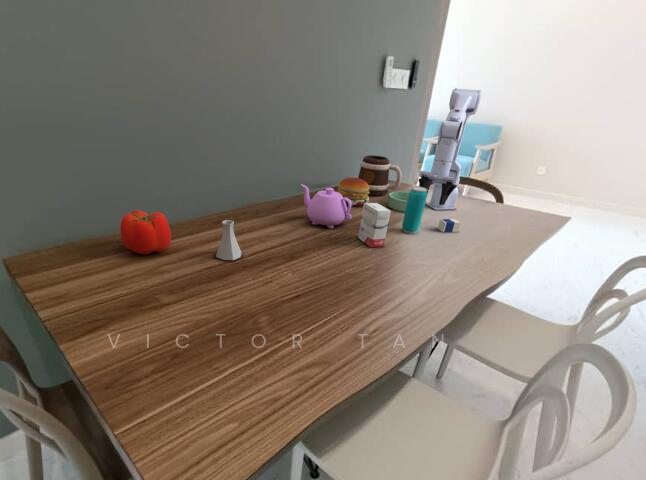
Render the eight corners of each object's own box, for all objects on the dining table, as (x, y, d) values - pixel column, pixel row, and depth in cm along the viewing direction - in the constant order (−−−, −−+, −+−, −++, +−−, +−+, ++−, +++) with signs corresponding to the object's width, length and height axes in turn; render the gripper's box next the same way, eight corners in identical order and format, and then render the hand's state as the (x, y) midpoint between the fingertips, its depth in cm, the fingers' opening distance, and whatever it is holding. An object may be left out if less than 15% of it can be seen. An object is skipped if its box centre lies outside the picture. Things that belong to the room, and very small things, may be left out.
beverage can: (416, 229, 139) (426, 186, 132) (419, 235, 134) (430, 191, 127) (400, 227, 140) (409, 185, 132) (402, 233, 135) (412, 190, 127)
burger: (336, 196, 169) (338, 172, 164) (367, 199, 168) (371, 175, 162) (334, 206, 157) (337, 180, 152) (368, 209, 156) (373, 184, 151)
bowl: (412, 202, 168) (414, 191, 166) (429, 212, 157) (431, 201, 154) (381, 202, 165) (383, 191, 163) (396, 213, 154) (399, 202, 151)
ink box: (384, 246, 124) (391, 210, 118) (370, 248, 122) (377, 211, 116) (370, 236, 131) (376, 201, 125) (357, 237, 129) (363, 202, 123)
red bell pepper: (112, 254, 108) (106, 217, 103) (143, 237, 119) (139, 203, 113) (154, 263, 104) (150, 226, 99) (182, 246, 115) (179, 211, 110)
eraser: (452, 228, 142) (454, 218, 141) (457, 232, 139) (460, 222, 138) (437, 228, 141) (439, 219, 139) (442, 232, 138) (445, 222, 136)
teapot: (289, 221, 138) (291, 187, 132) (307, 211, 149) (309, 179, 143) (342, 234, 131) (347, 198, 125) (356, 222, 142) (362, 188, 135)
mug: (349, 192, 175) (354, 157, 168) (359, 185, 187) (364, 152, 179) (394, 200, 168) (401, 164, 161) (401, 193, 180) (408, 159, 172)
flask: (245, 253, 113) (245, 220, 108) (234, 263, 108) (234, 228, 102) (223, 248, 115) (222, 215, 110) (211, 258, 109) (209, 223, 104)
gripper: (417, 157, 133) (408, 197, 139) (455, 164, 123) (443, 207, 128) (430, 157, 137) (420, 197, 143) (467, 164, 126) (455, 206, 132)
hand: (432, 202), depth 136 cm, fingers open, 7 cm apart
